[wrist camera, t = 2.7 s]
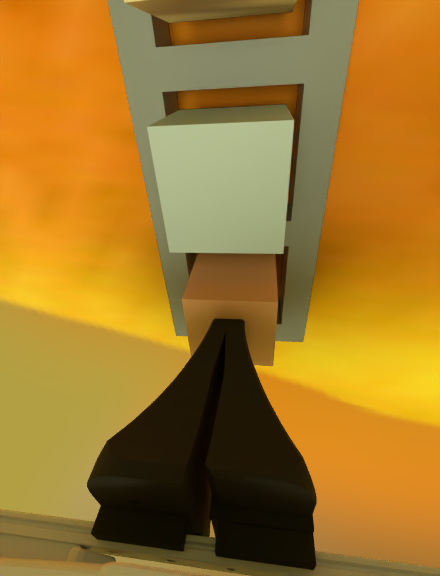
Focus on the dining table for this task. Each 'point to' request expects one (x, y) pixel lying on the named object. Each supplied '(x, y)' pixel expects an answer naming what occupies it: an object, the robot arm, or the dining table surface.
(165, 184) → the pale green cube
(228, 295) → the orange brown cube
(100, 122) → the dining table surface
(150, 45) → the button board
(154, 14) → the maple key
